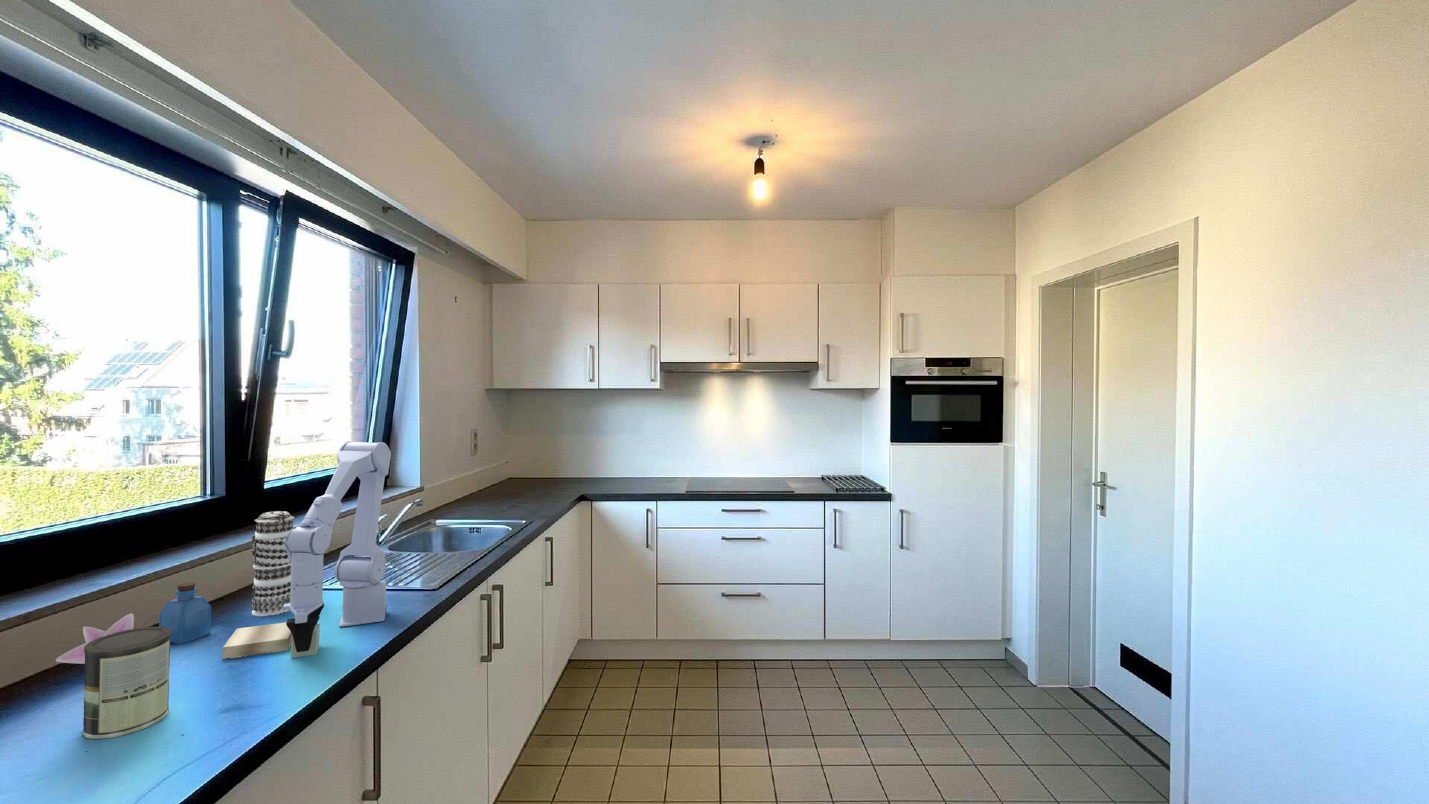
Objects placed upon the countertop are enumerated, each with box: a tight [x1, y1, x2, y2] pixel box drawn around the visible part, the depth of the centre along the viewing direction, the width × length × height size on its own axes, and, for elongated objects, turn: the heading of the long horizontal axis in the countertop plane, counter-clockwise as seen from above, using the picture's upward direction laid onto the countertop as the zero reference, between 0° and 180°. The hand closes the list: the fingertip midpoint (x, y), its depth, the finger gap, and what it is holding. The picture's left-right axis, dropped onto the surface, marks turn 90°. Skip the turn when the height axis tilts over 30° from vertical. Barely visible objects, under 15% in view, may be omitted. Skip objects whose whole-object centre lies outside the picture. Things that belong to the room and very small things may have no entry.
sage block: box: [290, 623, 321, 659], centre depth 125 cm, size 4×4×5 cm
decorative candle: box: [251, 510, 295, 617], centre depth 148 cm, size 9×9×25 cm
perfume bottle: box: [158, 581, 212, 645], centre depth 131 cm, size 6×6×12 cm
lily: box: [55, 613, 135, 665], centre depth 114 cm, size 12×12×10 cm
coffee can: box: [82, 626, 171, 740], centre depth 97 cm, size 10×10×14 cm
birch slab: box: [222, 621, 292, 660], centre depth 128 cm, size 11×11×3 cm
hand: (305, 645), depth 125 cm, fingers open, 6 cm apart
